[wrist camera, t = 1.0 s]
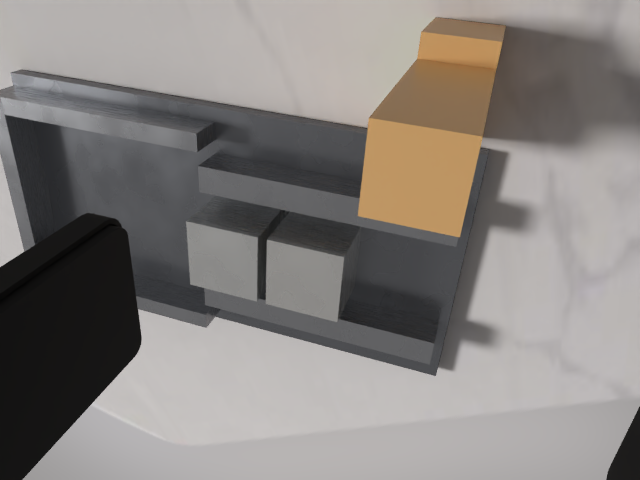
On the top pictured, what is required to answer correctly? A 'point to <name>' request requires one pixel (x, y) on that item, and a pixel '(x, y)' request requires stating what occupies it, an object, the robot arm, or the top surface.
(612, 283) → the top surface
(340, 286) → the grey cube
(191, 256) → the chip
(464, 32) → the tan stepped beam
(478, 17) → the top surface
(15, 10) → the top surface
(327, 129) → the slot board
